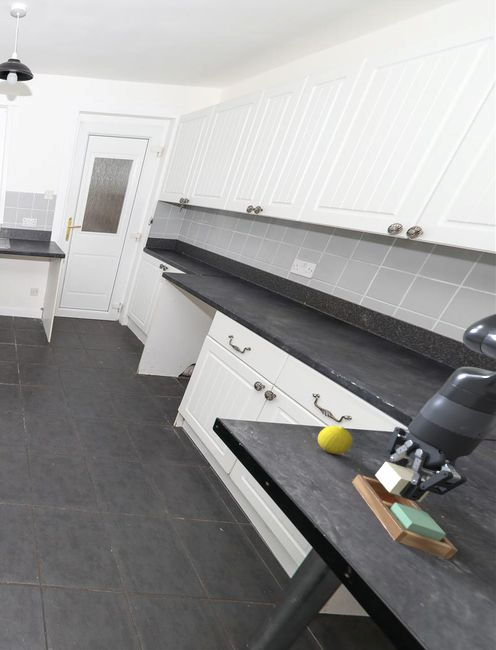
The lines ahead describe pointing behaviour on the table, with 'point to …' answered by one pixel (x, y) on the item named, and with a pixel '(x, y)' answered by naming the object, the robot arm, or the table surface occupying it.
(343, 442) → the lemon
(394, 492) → the cream pad
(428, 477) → the robot arm
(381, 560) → the table surface
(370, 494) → the pad holder
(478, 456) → the table surface
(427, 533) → the sage pad
